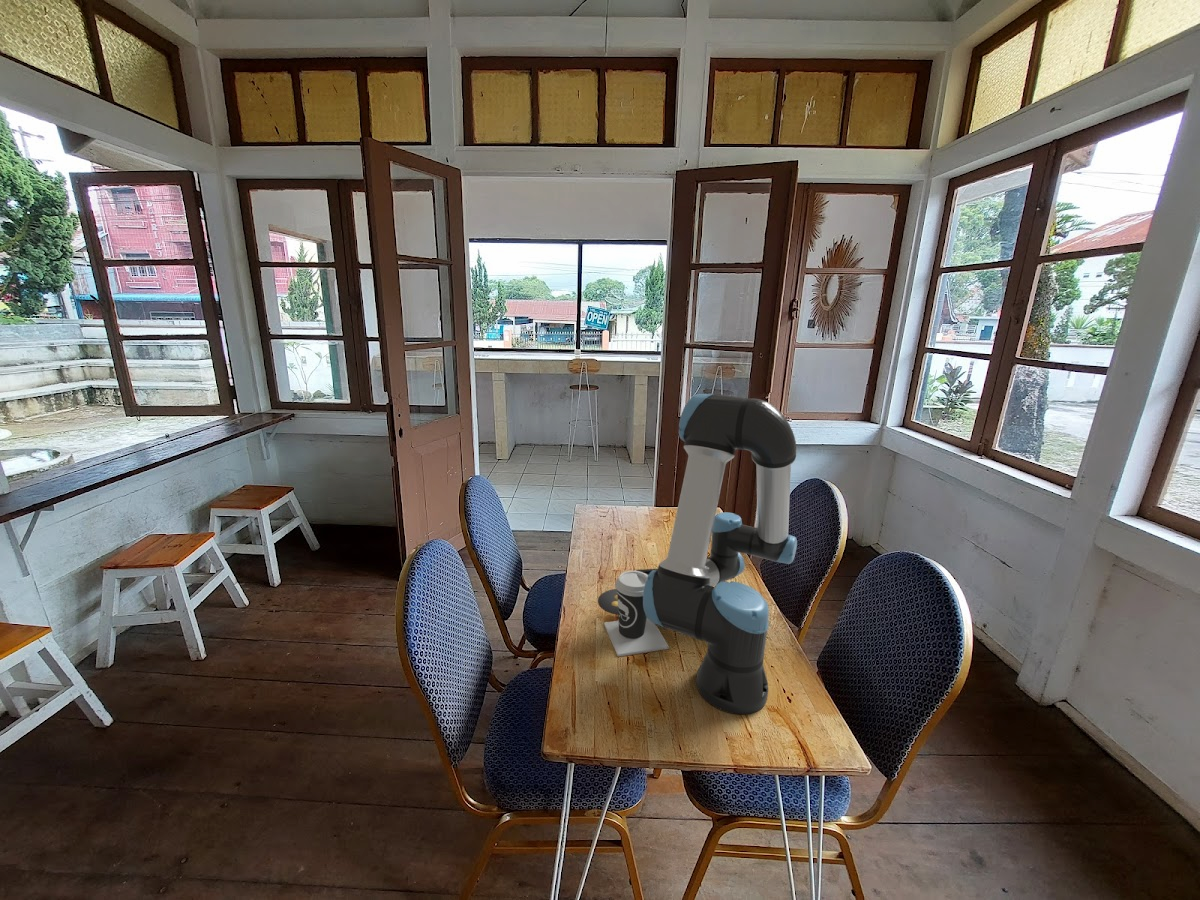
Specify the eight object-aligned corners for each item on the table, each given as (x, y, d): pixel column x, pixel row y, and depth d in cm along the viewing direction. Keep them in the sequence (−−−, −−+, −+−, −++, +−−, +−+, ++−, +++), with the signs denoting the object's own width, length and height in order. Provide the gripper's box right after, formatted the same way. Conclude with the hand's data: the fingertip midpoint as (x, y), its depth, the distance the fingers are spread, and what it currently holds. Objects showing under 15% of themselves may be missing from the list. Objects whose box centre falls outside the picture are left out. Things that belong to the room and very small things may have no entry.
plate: (668, 648, 122) (668, 646, 121) (617, 656, 118) (617, 654, 118) (650, 618, 134) (650, 616, 134) (603, 624, 131) (604, 622, 130)
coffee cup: (648, 645, 122) (652, 591, 118) (609, 639, 124) (612, 585, 119) (652, 622, 131) (655, 571, 127) (616, 617, 133) (618, 566, 128)
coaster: (650, 611, 137) (650, 611, 137) (604, 617, 134) (604, 617, 134) (635, 586, 149) (635, 586, 149) (593, 591, 146) (593, 591, 146)
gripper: (732, 610, 127) (670, 639, 115) (666, 569, 146) (608, 590, 135) (735, 584, 125) (672, 611, 113) (668, 546, 144) (608, 565, 133)
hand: (637, 599), depth 124 cm, fingers open, 13 cm apart
